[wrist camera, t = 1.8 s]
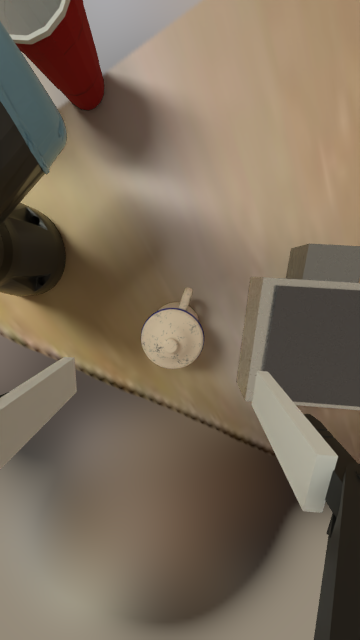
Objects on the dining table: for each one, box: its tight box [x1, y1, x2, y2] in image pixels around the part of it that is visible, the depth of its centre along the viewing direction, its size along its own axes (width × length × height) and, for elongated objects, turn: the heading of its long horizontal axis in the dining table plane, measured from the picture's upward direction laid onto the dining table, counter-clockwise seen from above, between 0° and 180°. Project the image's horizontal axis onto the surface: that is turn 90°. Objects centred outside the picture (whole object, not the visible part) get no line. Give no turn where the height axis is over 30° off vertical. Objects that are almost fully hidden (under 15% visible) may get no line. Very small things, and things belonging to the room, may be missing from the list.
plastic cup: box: [0, 0, 104, 110], centre depth 23 cm, size 11×11×12 cm
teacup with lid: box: [141, 288, 204, 369], centre depth 30 cm, size 12×9×12 cm
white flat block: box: [237, 244, 360, 410], centre depth 32 cm, size 20×25×7 cm
